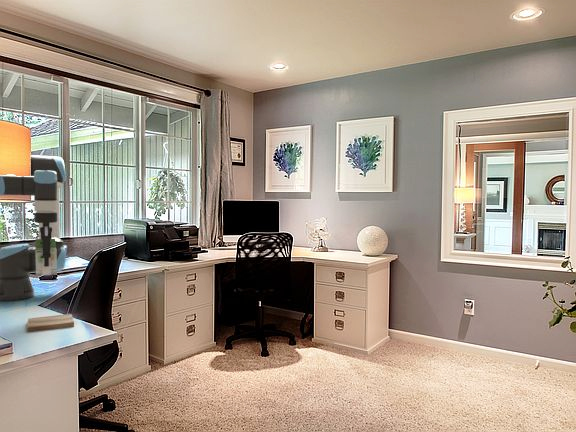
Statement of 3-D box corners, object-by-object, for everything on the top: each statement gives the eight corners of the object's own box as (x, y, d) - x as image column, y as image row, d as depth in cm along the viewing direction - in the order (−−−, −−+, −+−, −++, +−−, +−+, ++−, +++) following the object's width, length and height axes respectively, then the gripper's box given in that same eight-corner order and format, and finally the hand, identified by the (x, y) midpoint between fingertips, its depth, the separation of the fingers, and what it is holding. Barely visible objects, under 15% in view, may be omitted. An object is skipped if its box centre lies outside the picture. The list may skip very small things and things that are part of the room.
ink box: (35, 276, 160) (35, 240, 159) (35, 274, 163) (35, 239, 162) (57, 274, 163) (56, 239, 163) (56, 273, 167) (56, 238, 166)
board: (28, 322, 155) (27, 318, 155) (71, 317, 162) (71, 313, 162) (27, 331, 144) (27, 327, 144) (73, 326, 151) (73, 322, 151)
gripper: (34, 211, 167) (35, 270, 169) (34, 213, 153) (34, 278, 154) (56, 210, 171) (56, 269, 172) (58, 213, 156) (58, 277, 158)
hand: (46, 273), depth 163 cm, fingers closed on ink box, 4 cm apart
